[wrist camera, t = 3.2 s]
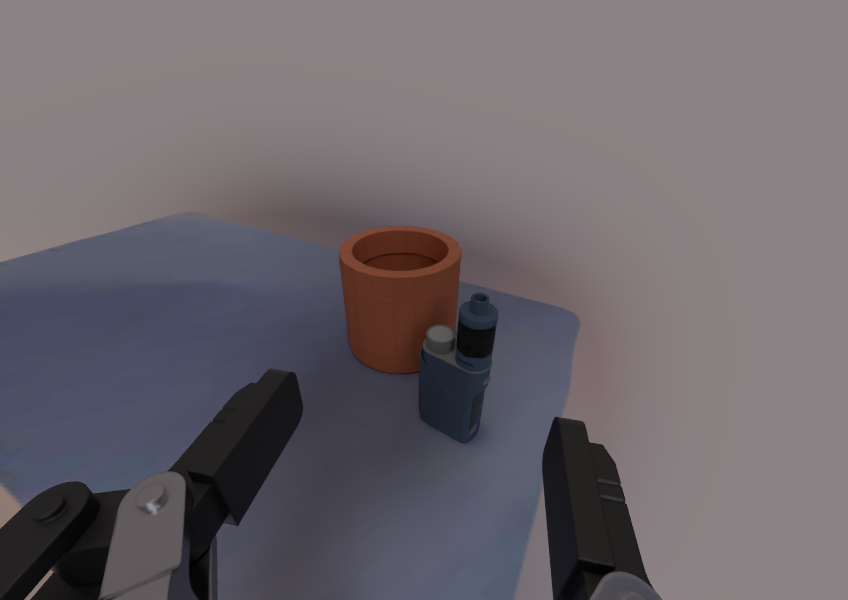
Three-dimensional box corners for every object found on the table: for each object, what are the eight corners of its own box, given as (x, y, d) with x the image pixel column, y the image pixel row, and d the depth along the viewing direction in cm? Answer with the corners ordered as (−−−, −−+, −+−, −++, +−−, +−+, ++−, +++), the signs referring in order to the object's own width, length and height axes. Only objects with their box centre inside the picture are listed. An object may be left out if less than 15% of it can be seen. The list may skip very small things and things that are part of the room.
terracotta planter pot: (459, 314, 41) (466, 231, 35) (445, 381, 32) (452, 284, 27) (369, 303, 42) (363, 221, 37) (333, 364, 34) (317, 268, 28)
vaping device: (470, 450, 26) (489, 315, 20) (412, 415, 29) (413, 285, 22) (486, 426, 28) (509, 295, 22) (431, 395, 31) (436, 270, 24)
